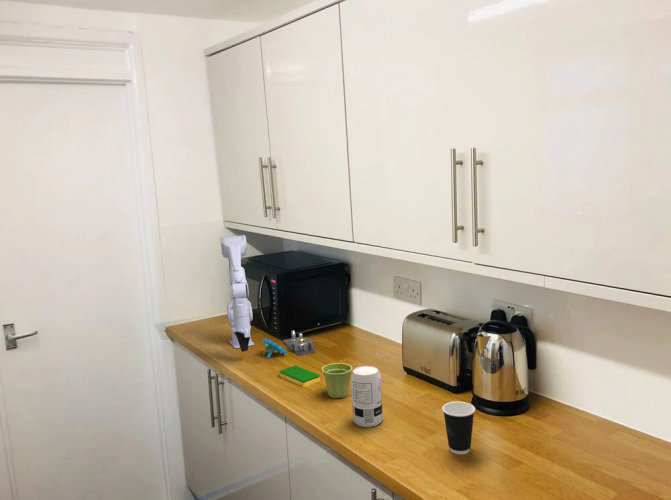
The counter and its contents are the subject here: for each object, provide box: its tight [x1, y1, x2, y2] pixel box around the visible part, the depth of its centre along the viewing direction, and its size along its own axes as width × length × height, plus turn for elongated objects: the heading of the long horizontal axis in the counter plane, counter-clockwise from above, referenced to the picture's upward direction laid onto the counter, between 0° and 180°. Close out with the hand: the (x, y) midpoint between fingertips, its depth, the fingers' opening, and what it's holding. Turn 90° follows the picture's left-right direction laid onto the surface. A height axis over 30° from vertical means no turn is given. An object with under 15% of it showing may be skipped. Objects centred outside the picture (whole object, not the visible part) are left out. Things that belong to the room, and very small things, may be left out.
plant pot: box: [321, 362, 353, 399], centre depth 183 cm, size 9×9×9 cm
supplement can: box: [350, 365, 384, 428], centre depth 163 cm, size 8×8×15 cm
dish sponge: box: [278, 364, 321, 388], centre depth 199 cm, size 7×14×2 cm, turn 40°
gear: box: [262, 338, 287, 359], centre depth 221 cm, size 11×6×10 cm
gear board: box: [282, 330, 317, 356], centre depth 230 cm, size 18×9×6 cm, turn 23°
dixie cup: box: [442, 401, 476, 456], centre depth 146 cm, size 8×8×11 cm
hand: (244, 350), depth 217 cm, fingers closed
